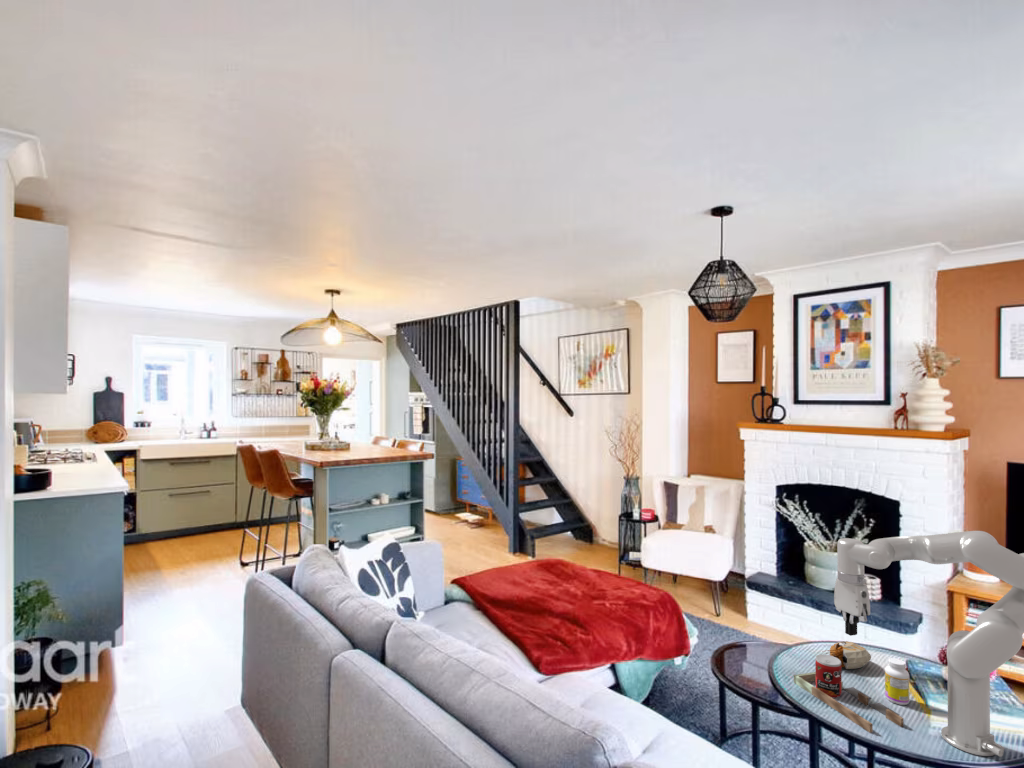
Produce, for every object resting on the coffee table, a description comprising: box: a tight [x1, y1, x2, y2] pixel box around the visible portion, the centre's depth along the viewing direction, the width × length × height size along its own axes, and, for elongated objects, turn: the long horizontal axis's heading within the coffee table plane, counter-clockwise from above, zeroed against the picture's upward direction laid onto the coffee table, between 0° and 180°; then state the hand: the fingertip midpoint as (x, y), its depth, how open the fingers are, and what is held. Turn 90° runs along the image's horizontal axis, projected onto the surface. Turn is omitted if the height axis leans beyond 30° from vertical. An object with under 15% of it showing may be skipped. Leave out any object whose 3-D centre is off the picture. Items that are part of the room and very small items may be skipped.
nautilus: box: [823, 640, 872, 670], centre depth 207 cm, size 8×22×15 cm
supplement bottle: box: [884, 657, 910, 706], centre depth 183 cm, size 7×7×13 cm
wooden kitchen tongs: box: [793, 671, 905, 734], centre depth 181 cm, size 30×18×2 cm, turn 15°
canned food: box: [815, 653, 842, 699], centre depth 188 cm, size 8×8×11 cm
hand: (851, 634), depth 180 cm, fingers closed
